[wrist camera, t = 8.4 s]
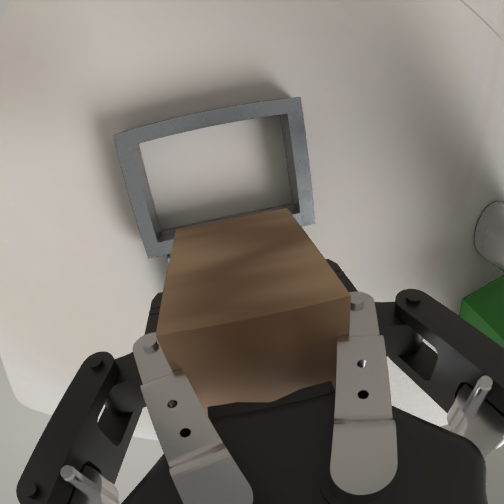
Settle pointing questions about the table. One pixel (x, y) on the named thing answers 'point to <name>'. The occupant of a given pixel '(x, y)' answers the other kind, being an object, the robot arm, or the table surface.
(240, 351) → the walnut block
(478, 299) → the hardback book
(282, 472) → the robot arm
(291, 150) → the holder
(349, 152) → the table surface
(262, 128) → the table surface
